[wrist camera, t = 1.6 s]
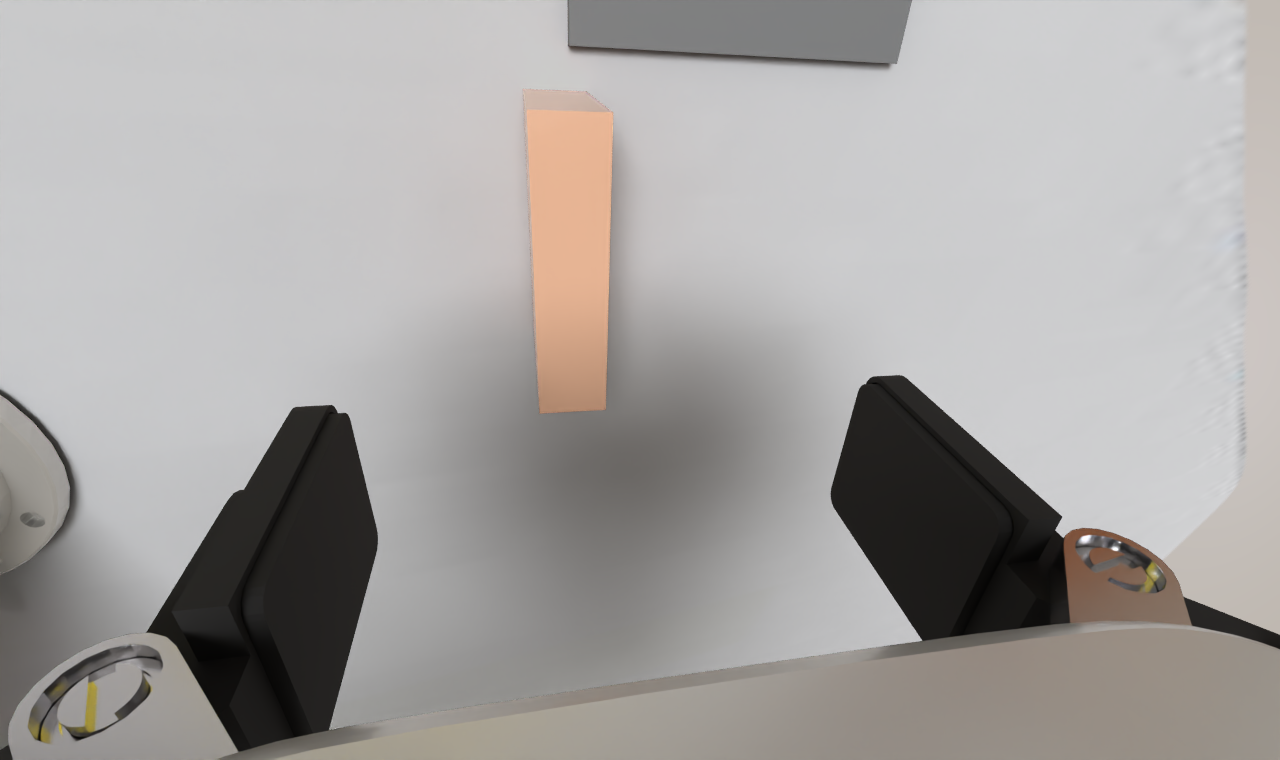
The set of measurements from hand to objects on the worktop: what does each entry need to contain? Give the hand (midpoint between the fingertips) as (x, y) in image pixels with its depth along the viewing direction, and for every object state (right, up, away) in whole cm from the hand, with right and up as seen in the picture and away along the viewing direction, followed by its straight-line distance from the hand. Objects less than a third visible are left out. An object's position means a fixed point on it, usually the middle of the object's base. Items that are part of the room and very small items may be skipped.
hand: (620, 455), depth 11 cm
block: (-3, +8, +14) cm, 16 cm away
